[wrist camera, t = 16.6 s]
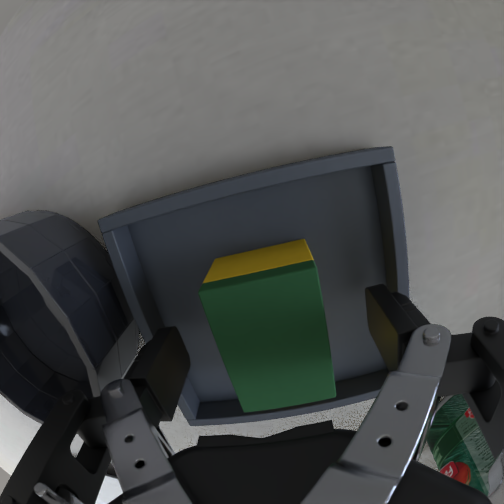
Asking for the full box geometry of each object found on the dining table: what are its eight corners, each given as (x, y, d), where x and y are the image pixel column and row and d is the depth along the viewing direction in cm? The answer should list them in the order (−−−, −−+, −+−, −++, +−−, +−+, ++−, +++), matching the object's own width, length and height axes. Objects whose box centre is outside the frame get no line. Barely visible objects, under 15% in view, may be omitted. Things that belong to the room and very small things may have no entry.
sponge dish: (117, 211, 13) (96, 220, 11) (375, 147, 12) (393, 146, 10) (196, 403, 17) (190, 426, 15) (394, 367, 15) (405, 388, 13)
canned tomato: (404, 435, 17) (441, 550, 7) (476, 360, 15) (552, 471, 4) (453, 444, 18) (490, 530, 8) (512, 382, 16) (570, 463, 5)
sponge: (214, 258, 13) (196, 292, 10) (304, 238, 13) (317, 266, 9) (248, 364, 15) (243, 413, 11) (325, 350, 14) (336, 397, 11)
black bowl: (-20, 239, 14) (-69, 261, 10) (93, 180, 13) (24, 195, 8) (45, 380, 18) (13, 419, 13) (170, 380, 16) (145, 443, 11)
